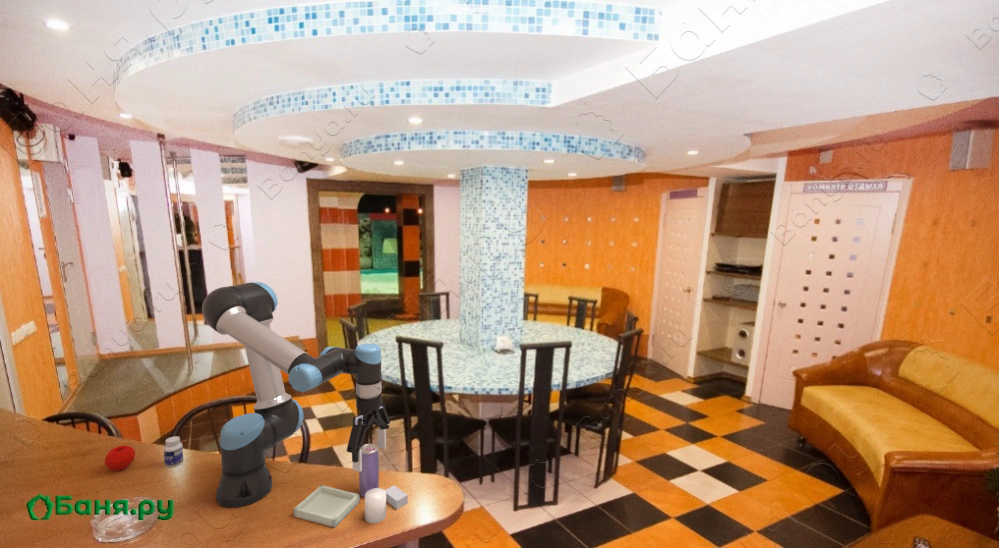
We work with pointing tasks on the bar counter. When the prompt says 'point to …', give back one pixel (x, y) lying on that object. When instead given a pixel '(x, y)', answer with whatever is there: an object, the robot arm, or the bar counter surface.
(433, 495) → the bar counter surface
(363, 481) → the beverage can
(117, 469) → the apple
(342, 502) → the tray
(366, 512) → the white rounded capsule
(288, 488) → the bar counter surface
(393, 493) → the pale rectangular cuboid
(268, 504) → the bar counter surface
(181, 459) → the pill bottle
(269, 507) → the bar counter surface
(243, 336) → the robot arm
